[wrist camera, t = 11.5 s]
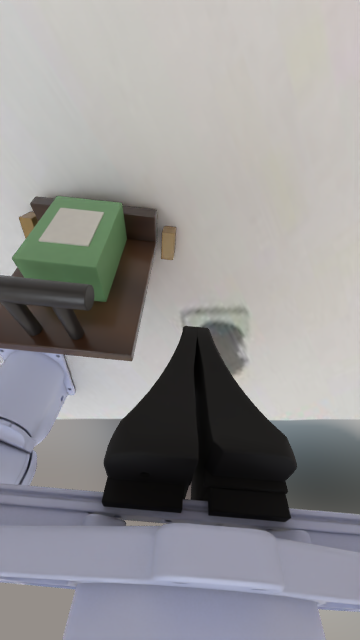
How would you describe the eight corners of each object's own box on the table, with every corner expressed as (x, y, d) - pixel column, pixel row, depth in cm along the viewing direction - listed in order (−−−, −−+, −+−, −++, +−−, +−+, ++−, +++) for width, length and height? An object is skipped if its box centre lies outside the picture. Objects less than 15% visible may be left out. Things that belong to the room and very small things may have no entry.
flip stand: (132, 361, 14) (120, 310, 10) (-24, 346, 14) (-102, 288, 10) (157, 242, 20) (156, 182, 16) (50, 231, 20) (23, 167, 16)
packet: (106, 302, 15) (95, 265, 12) (35, 295, 15) (9, 256, 12) (127, 239, 19) (122, 200, 16) (70, 233, 19) (56, 193, 16)
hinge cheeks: (174, 252, 21) (172, 260, 19) (37, 238, 21) (27, 245, 19) (176, 226, 19) (174, 233, 18) (29, 211, 19) (18, 217, 18)
